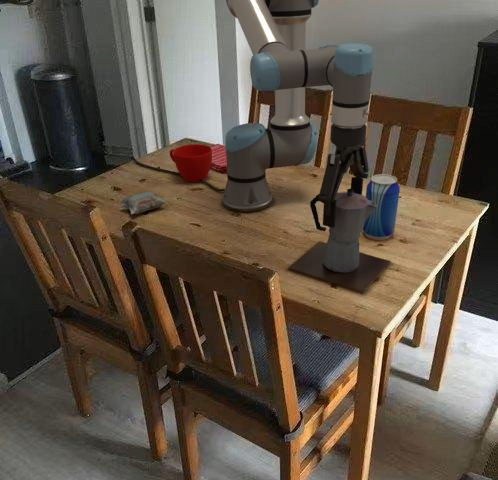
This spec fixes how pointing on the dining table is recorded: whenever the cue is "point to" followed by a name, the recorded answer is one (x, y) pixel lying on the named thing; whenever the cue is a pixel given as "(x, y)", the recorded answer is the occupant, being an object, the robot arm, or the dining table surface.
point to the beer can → (382, 206)
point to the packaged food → (142, 202)
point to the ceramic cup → (192, 161)
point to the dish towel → (219, 158)
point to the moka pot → (344, 230)
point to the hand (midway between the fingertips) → (342, 214)
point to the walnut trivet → (351, 280)
